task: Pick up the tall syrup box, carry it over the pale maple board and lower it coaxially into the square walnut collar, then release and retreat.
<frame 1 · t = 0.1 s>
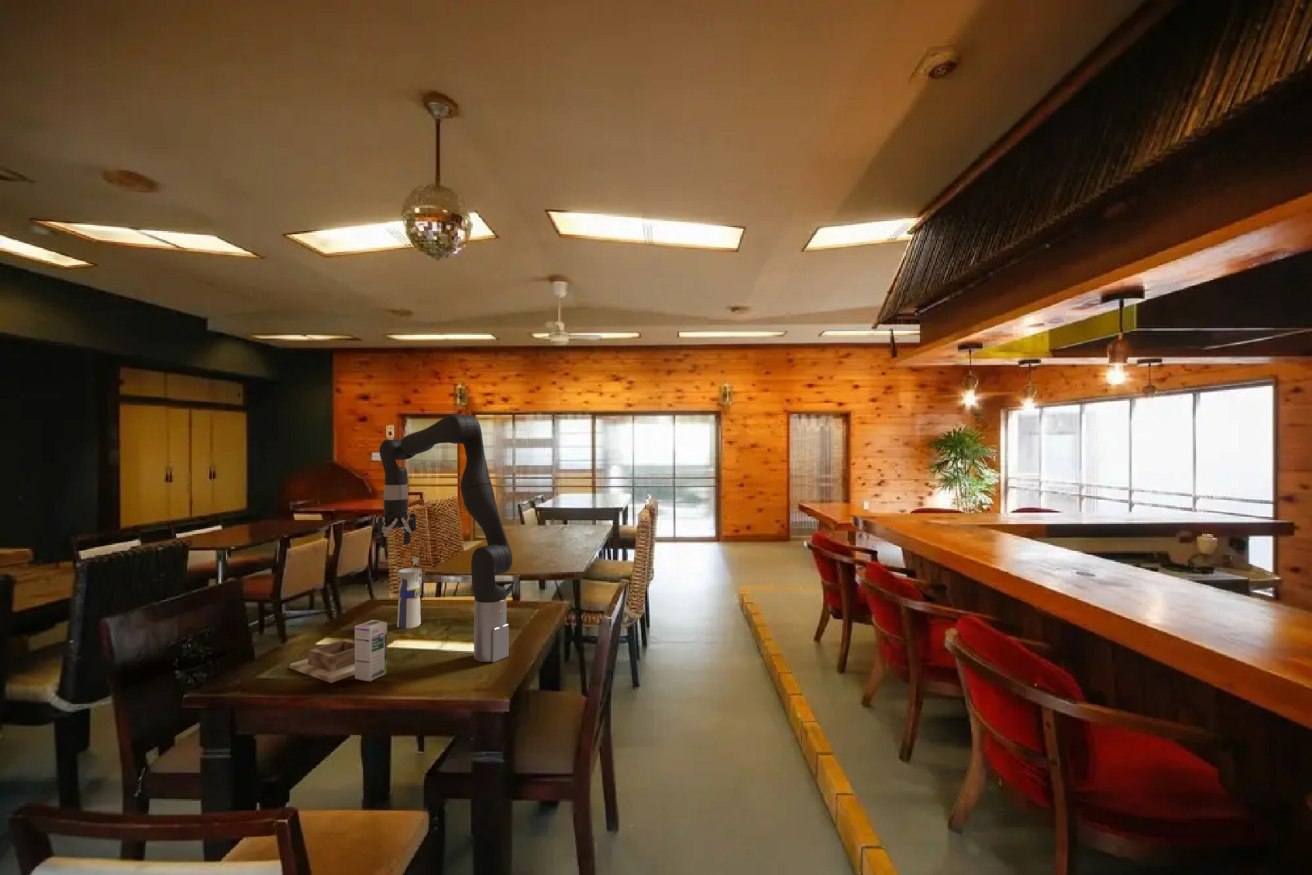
hand: (395, 545, 193), 29 cm above the table, fingers open, 8 cm apart
collar board: (338, 665, 163), on the table
syrup box: (370, 677, 155), on the table
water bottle: (409, 625, 201), on the table
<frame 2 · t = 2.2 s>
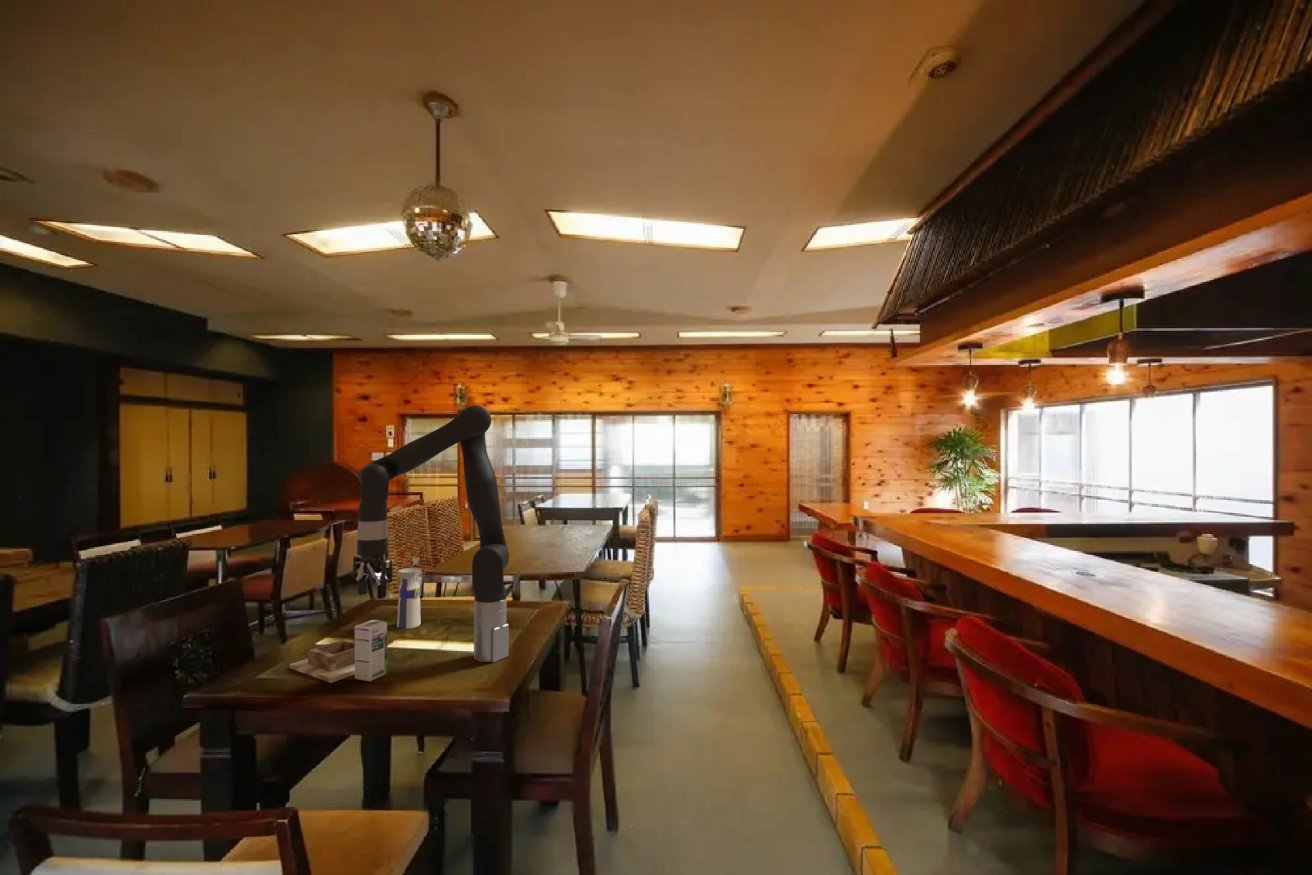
hand: (371, 596, 156), 22 cm above the table, fingers open, 8 cm apart
nothing on the table moved.
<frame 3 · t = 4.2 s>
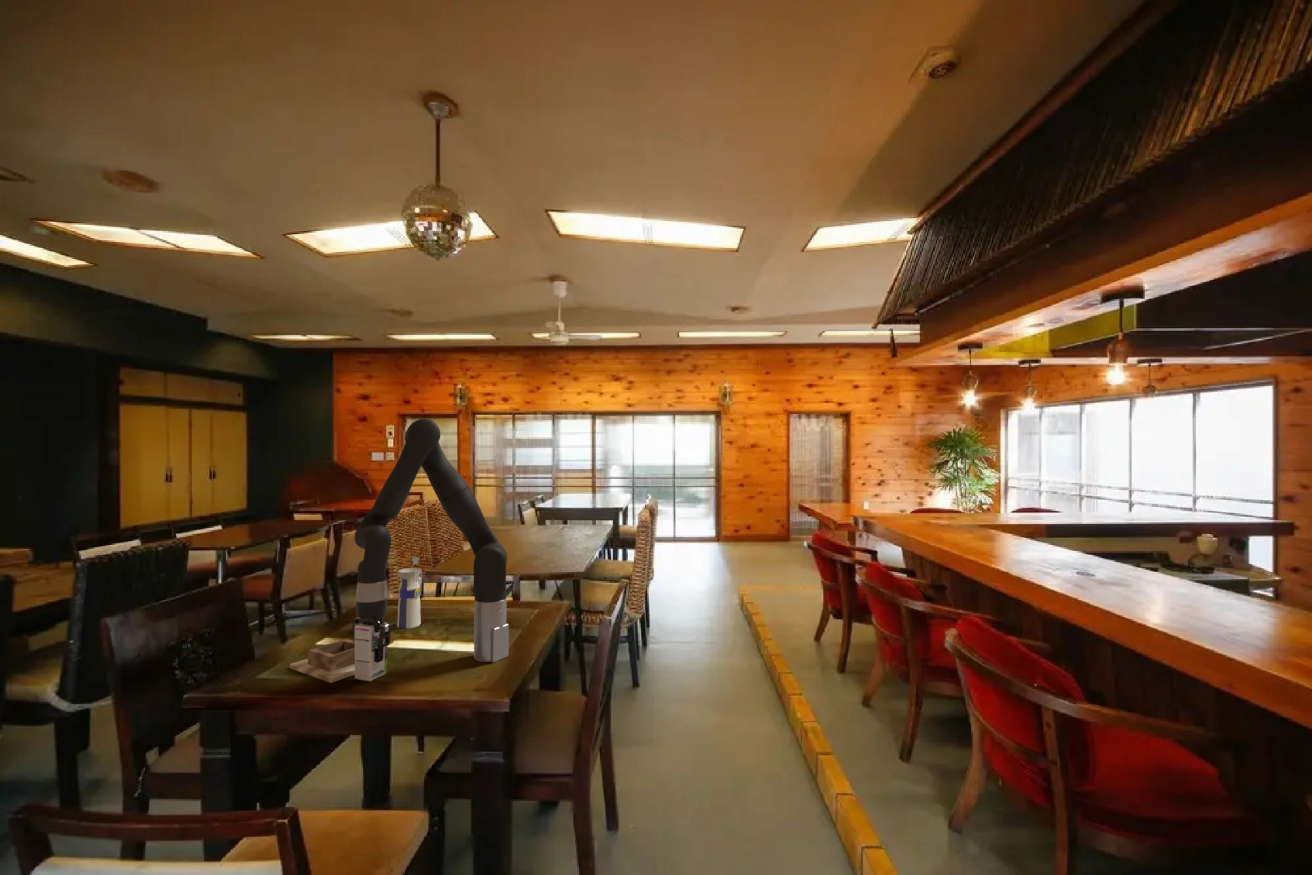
hand: (370, 658, 155), 5 cm above the table, fingers closed on syrup box, 6 cm apart
syrup box: (370, 677, 155), on the table, touching gripper
everything else where it was.
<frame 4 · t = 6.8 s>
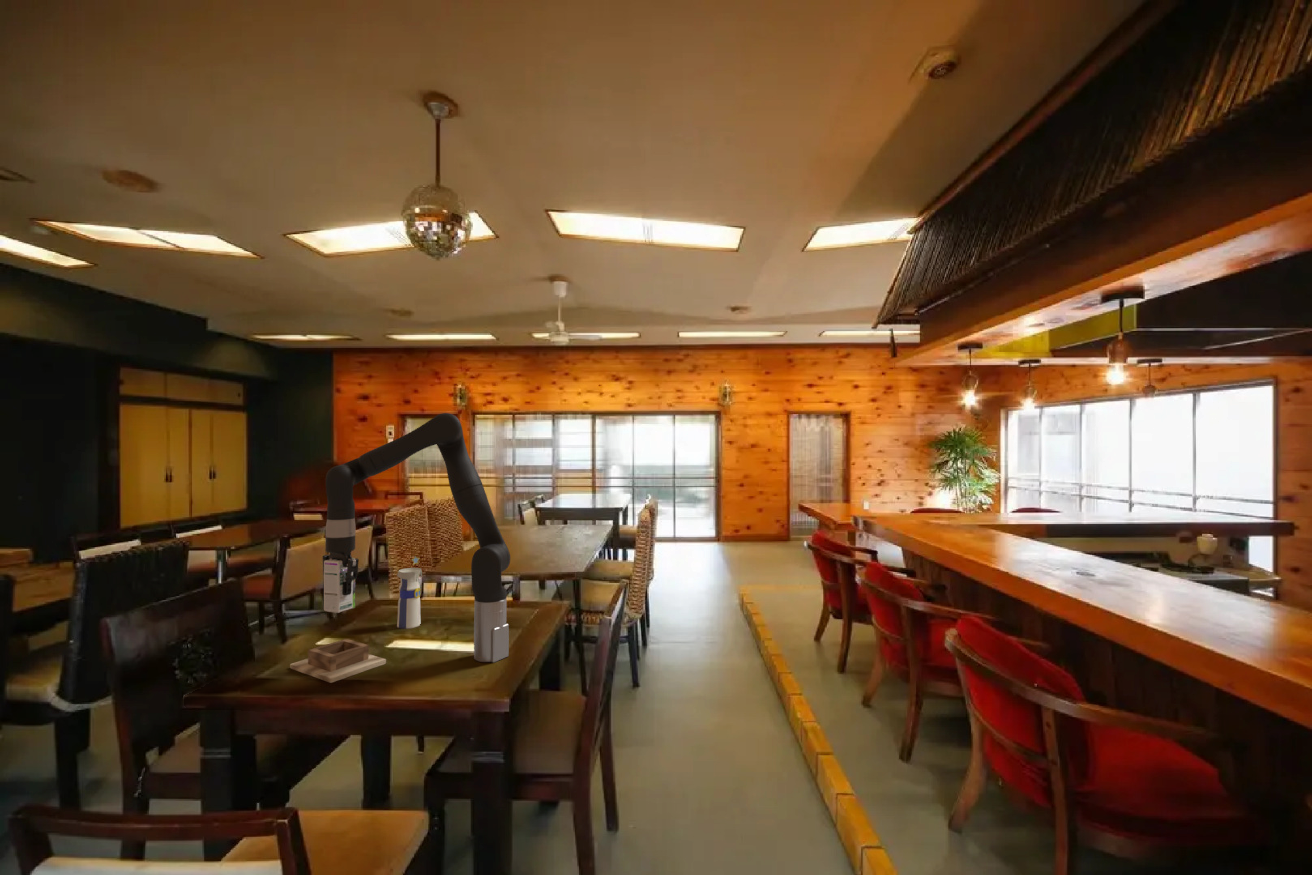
hand: (339, 592, 163), 21 cm above the table, fingers closed on syrup box, 6 cm apart
syrup box: (339, 610, 163), point 16 cm above the table, touching gripper
everything else where it was.
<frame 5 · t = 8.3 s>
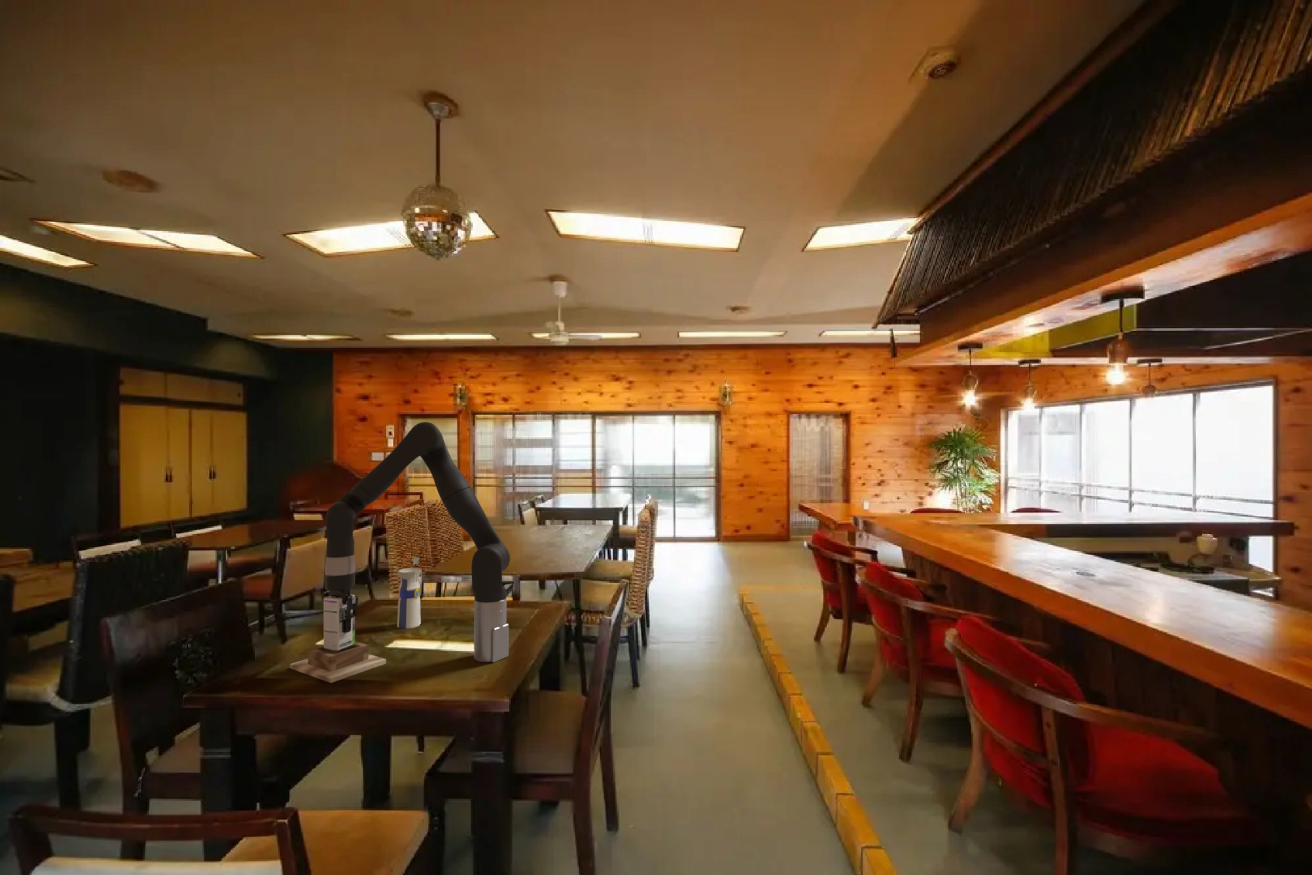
hand: (339, 629, 163), 10 cm above the table, fingers closed on syrup box, 6 cm apart
syrup box: (339, 647, 163), point 5 cm above the table, touching gripper
everything else where it was.
when the fingers open (7 cm above the table, at t = 9.4 s): syrup box drops 1 cm, resting on collar board.
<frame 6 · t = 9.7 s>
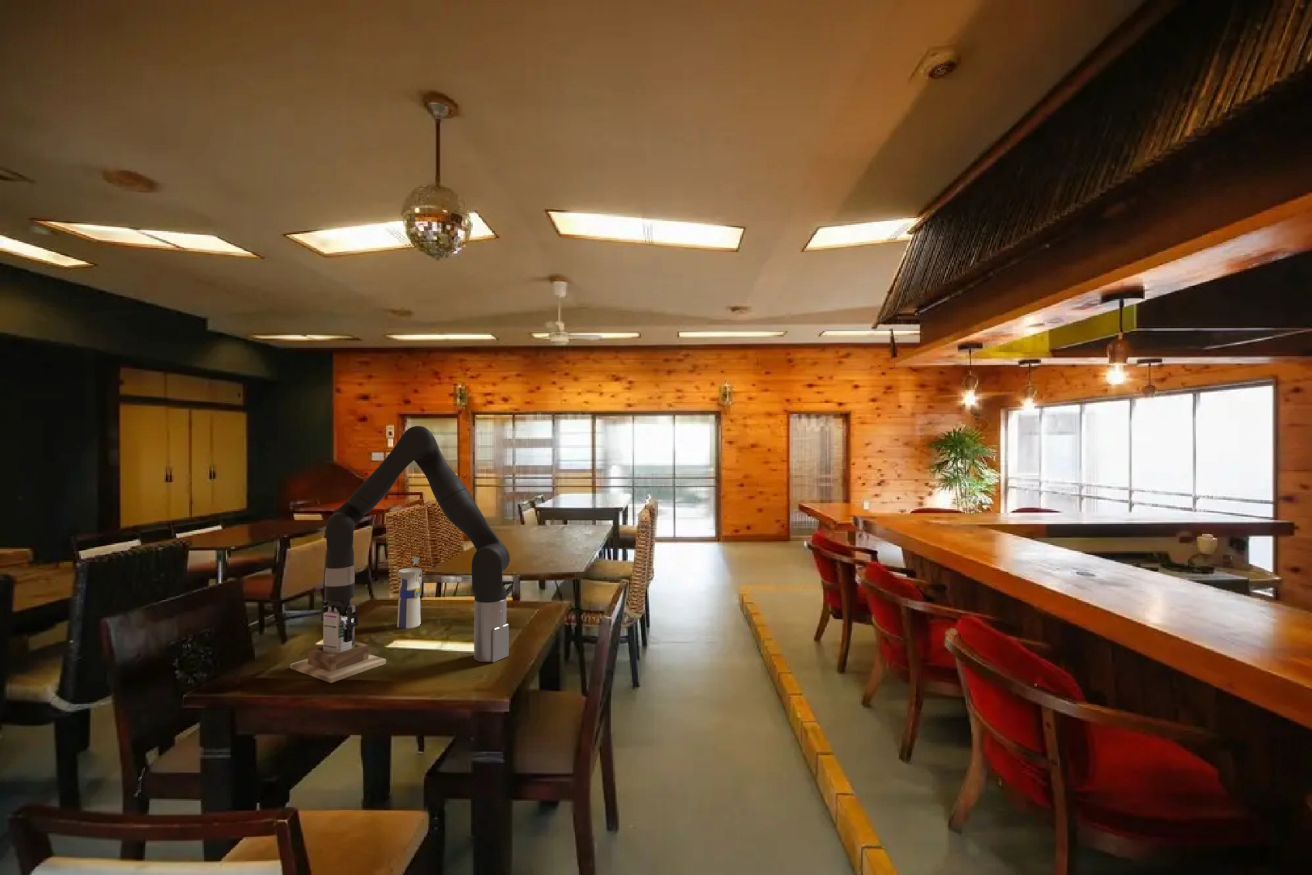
hand: (339, 639, 163), 8 cm above the table, fingers open, 8 cm apart
syrup box: (338, 662, 163), point 1 cm above the table, touching collar board
everything else where it was.
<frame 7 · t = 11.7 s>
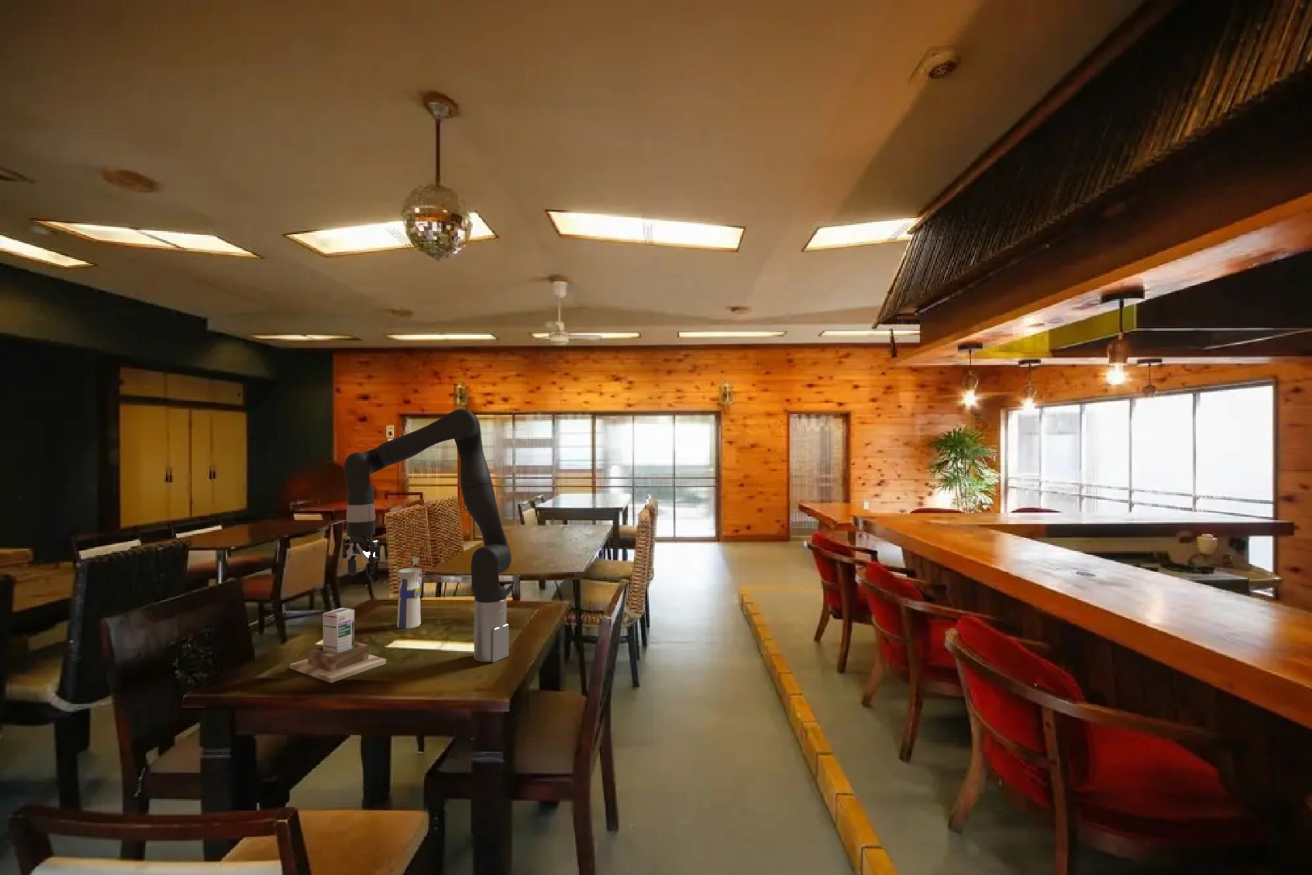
hand: (361, 574, 169), 25 cm above the table, fingers open, 8 cm apart
nothing on the table moved.
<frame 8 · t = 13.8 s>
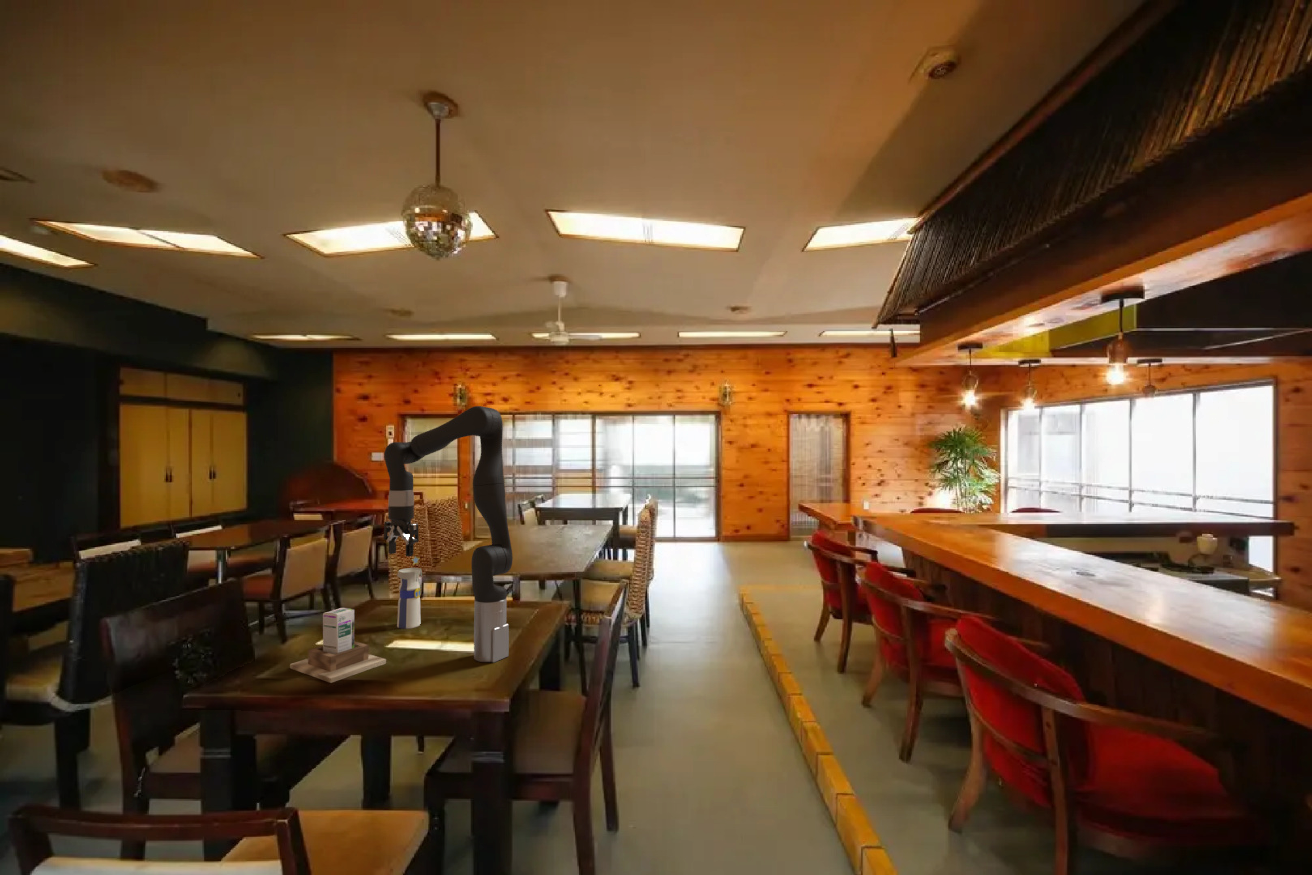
hand: (400, 554, 183), 28 cm above the table, fingers open, 8 cm apart
nothing on the table moved.
at the end: syrup box 0.1 cm off-centre on the collar board, point 1.0 cm above the collar board's base; syrup box tilted 0°; the gripper is holding nothing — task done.
